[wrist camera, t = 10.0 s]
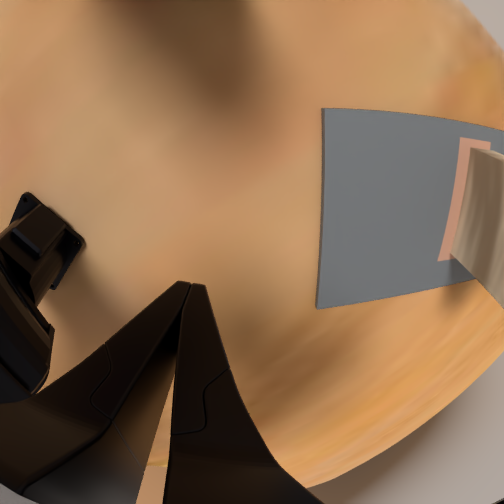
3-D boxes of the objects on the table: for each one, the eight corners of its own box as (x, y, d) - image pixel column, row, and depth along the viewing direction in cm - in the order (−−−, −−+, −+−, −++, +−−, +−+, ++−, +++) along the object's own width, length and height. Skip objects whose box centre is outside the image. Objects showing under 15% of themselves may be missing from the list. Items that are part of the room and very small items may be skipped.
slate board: (315, 305, 25) (317, 309, 25) (321, 108, 17) (324, 108, 17) (498, 269, 26) (500, 272, 26) (529, 138, 18) (533, 139, 18)
